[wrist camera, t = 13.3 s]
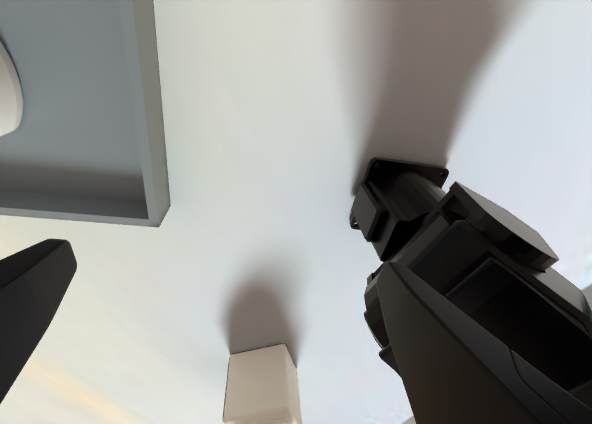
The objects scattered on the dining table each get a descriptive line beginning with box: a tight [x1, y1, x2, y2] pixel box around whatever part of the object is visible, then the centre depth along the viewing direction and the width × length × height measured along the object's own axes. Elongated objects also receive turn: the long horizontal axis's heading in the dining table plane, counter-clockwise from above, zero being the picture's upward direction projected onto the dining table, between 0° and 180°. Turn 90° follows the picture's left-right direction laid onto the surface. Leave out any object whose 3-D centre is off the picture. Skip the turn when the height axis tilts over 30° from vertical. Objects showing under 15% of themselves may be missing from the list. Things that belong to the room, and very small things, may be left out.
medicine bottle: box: [223, 344, 302, 424], centre depth 31 cm, size 7×7×12 cm
